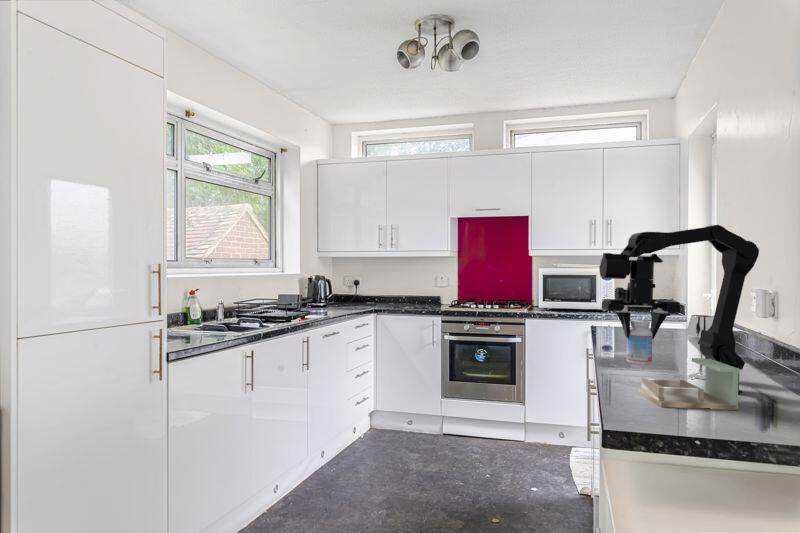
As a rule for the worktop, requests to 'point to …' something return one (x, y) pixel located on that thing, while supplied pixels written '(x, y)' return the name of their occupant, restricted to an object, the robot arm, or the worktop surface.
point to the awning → (720, 380)
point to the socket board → (681, 395)
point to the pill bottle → (639, 343)
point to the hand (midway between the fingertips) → (639, 338)
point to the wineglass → (698, 335)
